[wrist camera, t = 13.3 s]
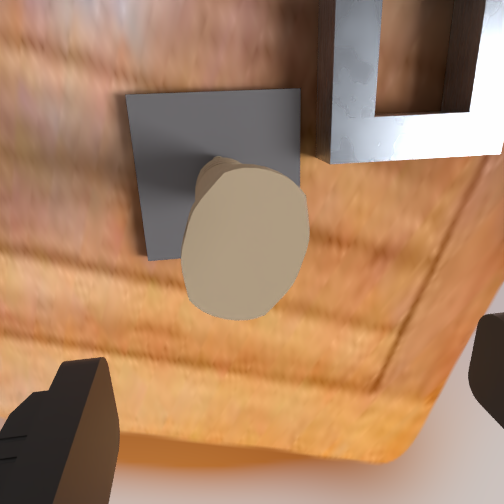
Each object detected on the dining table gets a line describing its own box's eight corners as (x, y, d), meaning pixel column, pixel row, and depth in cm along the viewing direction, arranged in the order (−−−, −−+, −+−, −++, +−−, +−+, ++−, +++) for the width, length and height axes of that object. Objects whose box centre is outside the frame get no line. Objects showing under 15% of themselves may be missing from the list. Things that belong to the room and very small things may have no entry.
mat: (127, 94, 28) (125, 94, 27) (297, 88, 29) (300, 88, 28) (149, 256, 32) (148, 261, 31) (296, 243, 34) (299, 247, 33)
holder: (320, -62, 26) (338, -84, 23) (502, -60, 28) (543, -80, 25) (315, 157, 31) (330, 164, 28) (469, 148, 33) (500, 153, 30)
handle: (178, 210, 30) (167, 308, 16) (199, 124, 28) (206, 152, 14) (240, 225, 31) (278, 329, 18) (264, 143, 29) (329, 187, 16)
